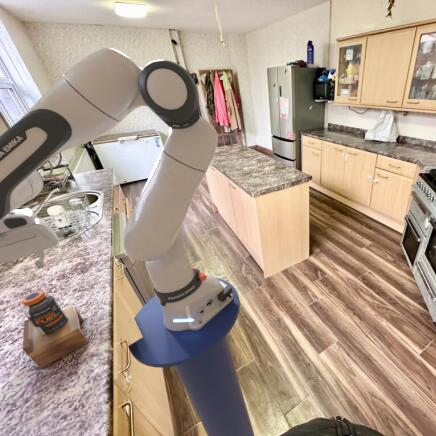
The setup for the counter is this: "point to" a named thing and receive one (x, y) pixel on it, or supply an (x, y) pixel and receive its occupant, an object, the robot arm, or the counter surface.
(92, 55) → the robot arm
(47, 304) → the pill bottle
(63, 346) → the tan scooped block
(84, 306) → the counter surface
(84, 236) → the counter surface
